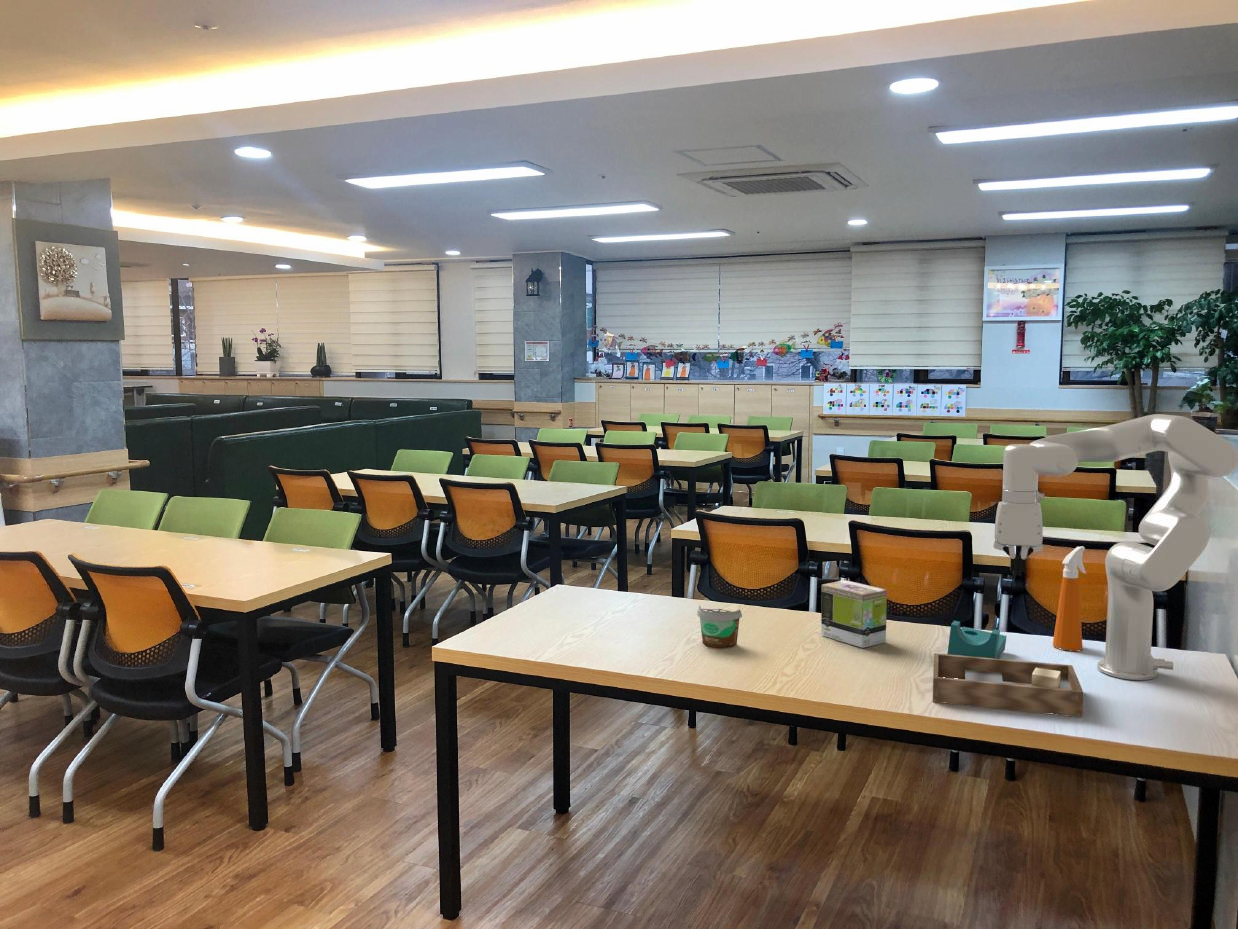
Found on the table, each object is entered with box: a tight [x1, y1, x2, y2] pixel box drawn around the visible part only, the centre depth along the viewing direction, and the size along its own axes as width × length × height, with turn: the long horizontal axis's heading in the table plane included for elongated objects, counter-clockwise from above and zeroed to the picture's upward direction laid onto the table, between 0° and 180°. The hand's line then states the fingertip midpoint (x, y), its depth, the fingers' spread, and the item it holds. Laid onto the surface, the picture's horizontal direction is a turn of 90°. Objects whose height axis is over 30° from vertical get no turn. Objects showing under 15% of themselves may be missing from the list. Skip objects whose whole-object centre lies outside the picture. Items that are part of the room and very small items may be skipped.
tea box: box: [820, 579, 888, 649], centre depth 249 cm, size 15×10×15 cm
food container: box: [696, 605, 743, 650], centre depth 245 cm, size 12×6×10 cm, turn 68°
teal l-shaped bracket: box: [946, 620, 1007, 659], centre depth 231 cm, size 18×11×10 cm, turn 149°
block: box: [1032, 668, 1061, 689], centre depth 200 cm, size 5×5×5 cm
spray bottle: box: [1052, 545, 1087, 652], centre depth 239 cm, size 7×11×26 cm, turn 125°
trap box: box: [932, 652, 1084, 718], centre depth 207 cm, size 30×18×6 cm, turn 71°
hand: (1017, 574), depth 215 cm, fingers closed
